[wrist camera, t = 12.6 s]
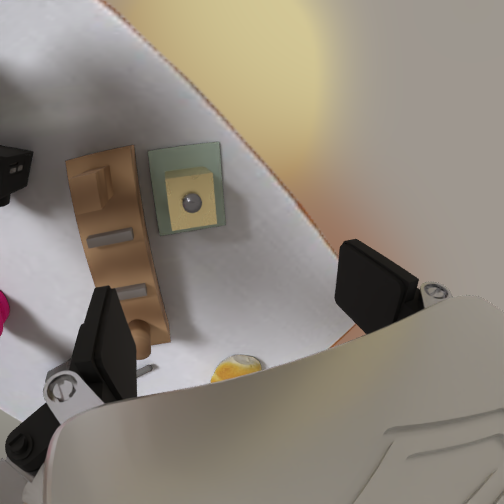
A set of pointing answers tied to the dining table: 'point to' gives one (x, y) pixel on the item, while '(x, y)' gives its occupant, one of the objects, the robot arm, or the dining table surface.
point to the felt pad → (181, 160)
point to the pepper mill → (3, 311)
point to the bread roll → (235, 367)
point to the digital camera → (13, 171)
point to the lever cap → (190, 197)
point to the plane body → (119, 239)
